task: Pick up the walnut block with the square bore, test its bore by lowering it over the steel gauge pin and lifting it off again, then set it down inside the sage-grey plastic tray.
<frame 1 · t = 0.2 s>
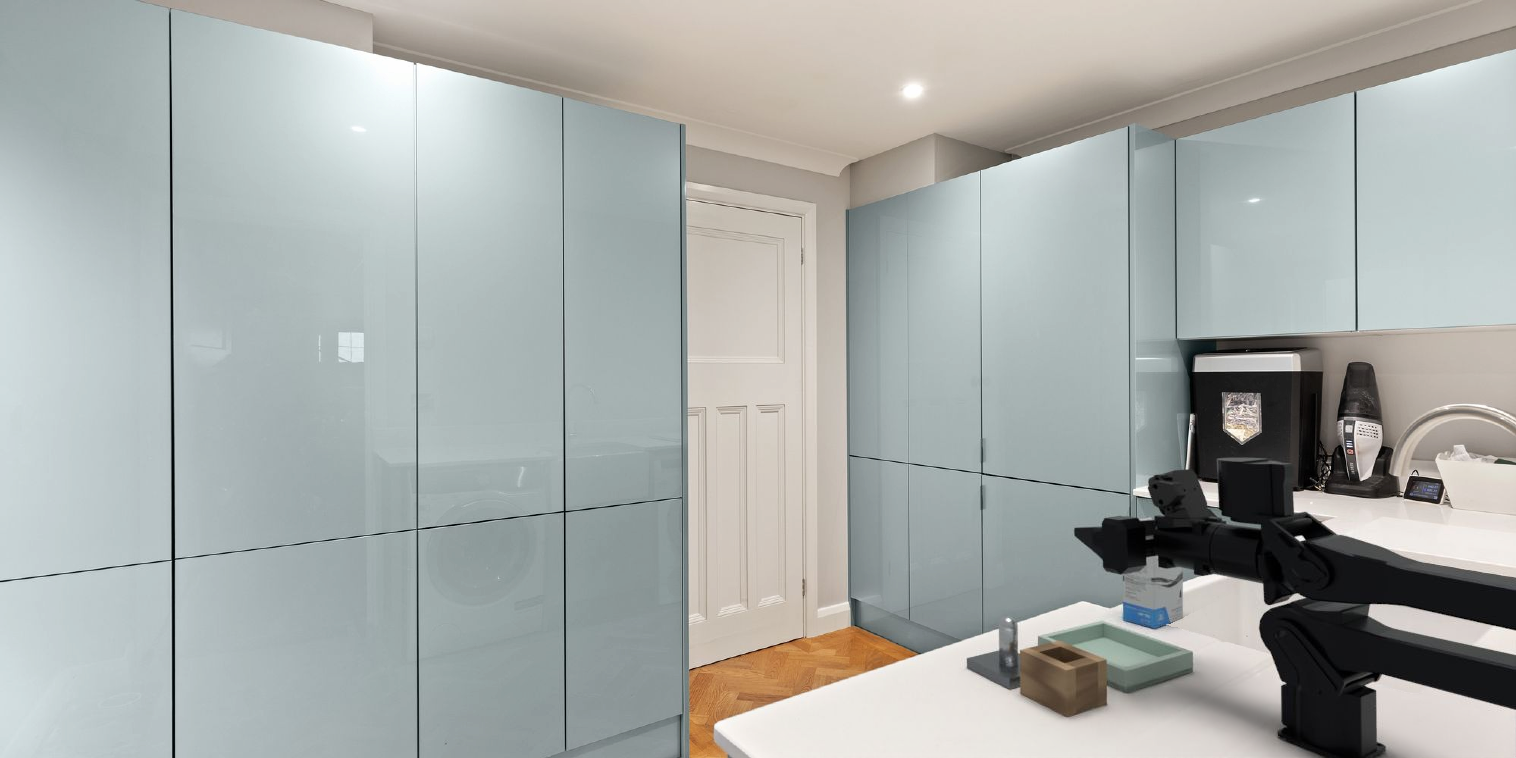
hand: (1098, 528, 91), 17 cm above the counter, tool horizontal, fingers open, 9 cm apart
walnut block: (1062, 698, 79), on the counter
ink box: (1153, 620, 105), on the counter
sage tray: (1113, 663, 89), on the counter
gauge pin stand: (1008, 672, 86), on the counter
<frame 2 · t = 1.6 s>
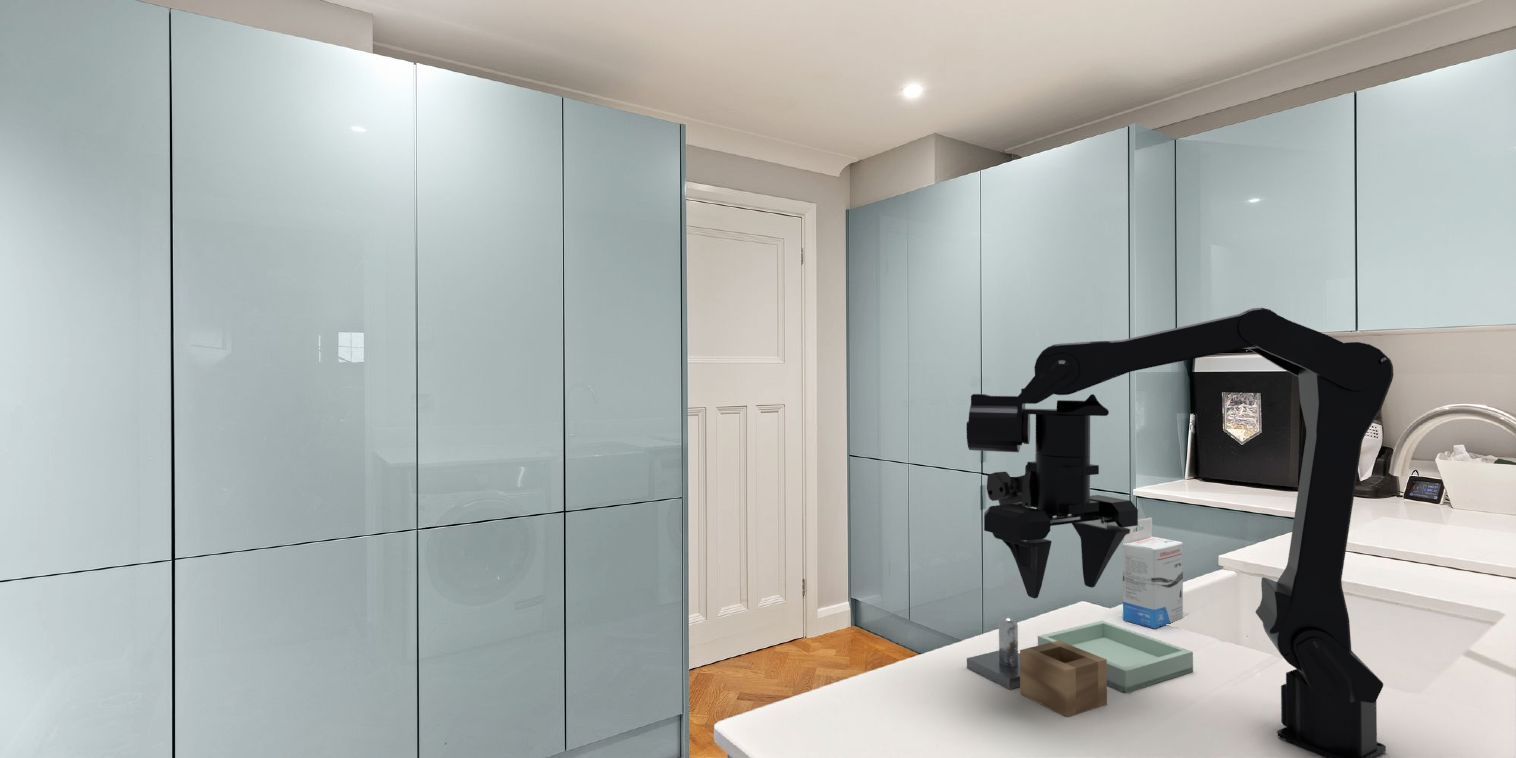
hand: (1061, 591, 79), 12 cm above the counter, tool pointing down, fingers open, 9 cm apart
nothing on the counter moved.
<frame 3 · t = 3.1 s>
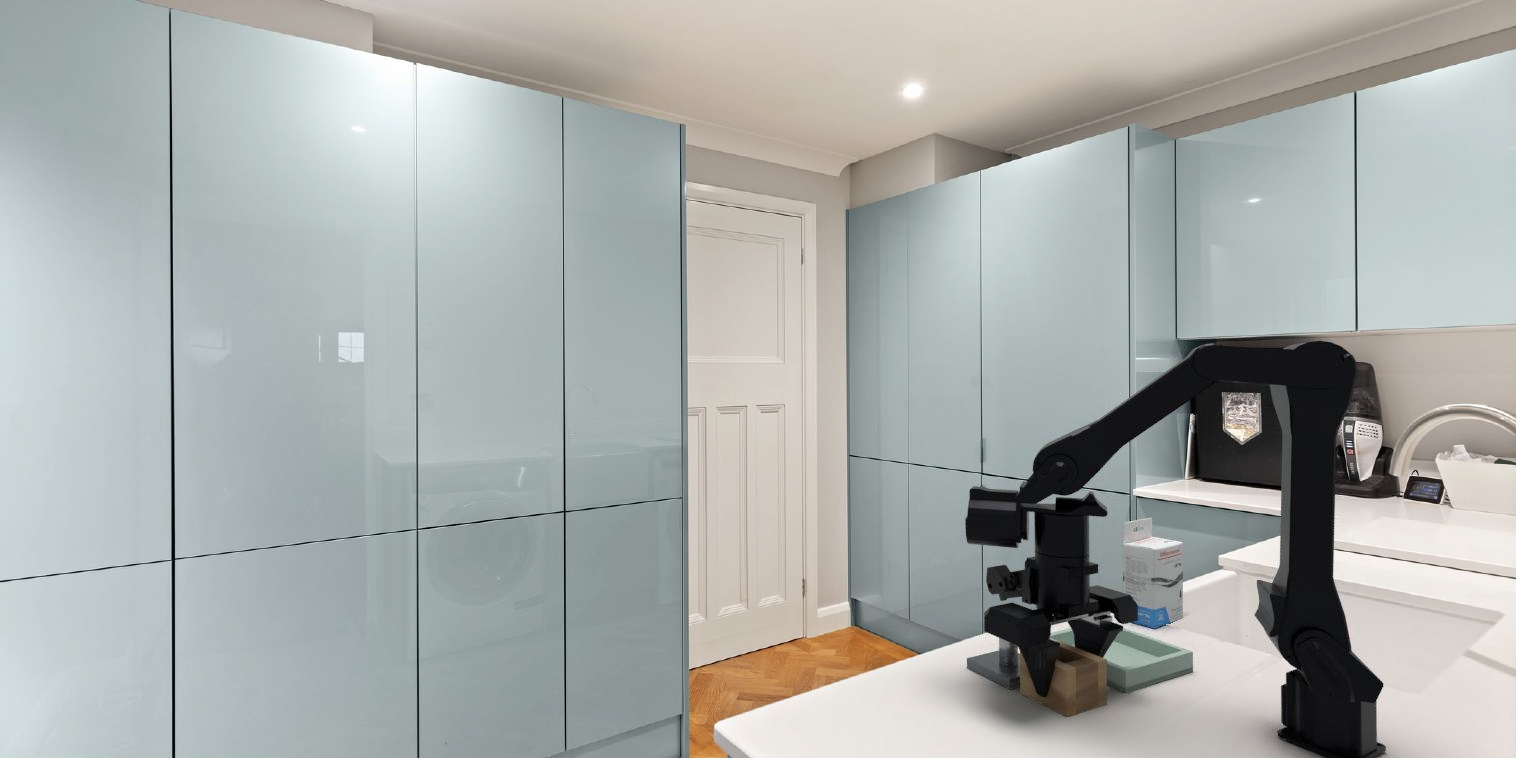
hand: (1062, 689, 79), 1 cm above the counter, tool pointing down, fingers closed on walnut block, 6 cm apart
walnut block: (1062, 698, 79), on the counter, touching gripper
everything else where it was.
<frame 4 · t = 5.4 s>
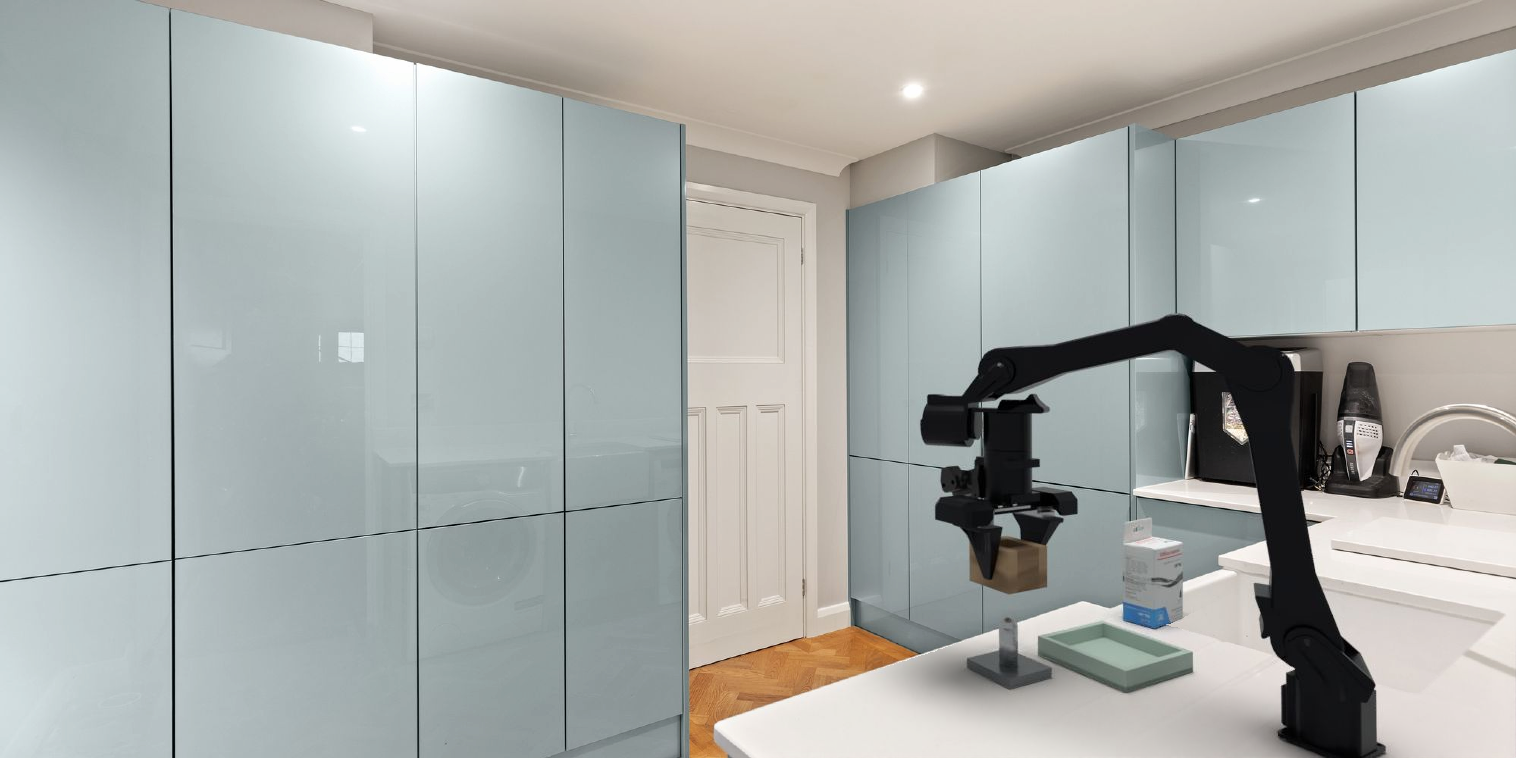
hand: (1007, 575, 86), 12 cm above the counter, tool pointing down, fingers closed on walnut block, 6 cm apart
walnut block: (1007, 583, 86), point 11 cm above the counter, touching gripper
everything else where it was.
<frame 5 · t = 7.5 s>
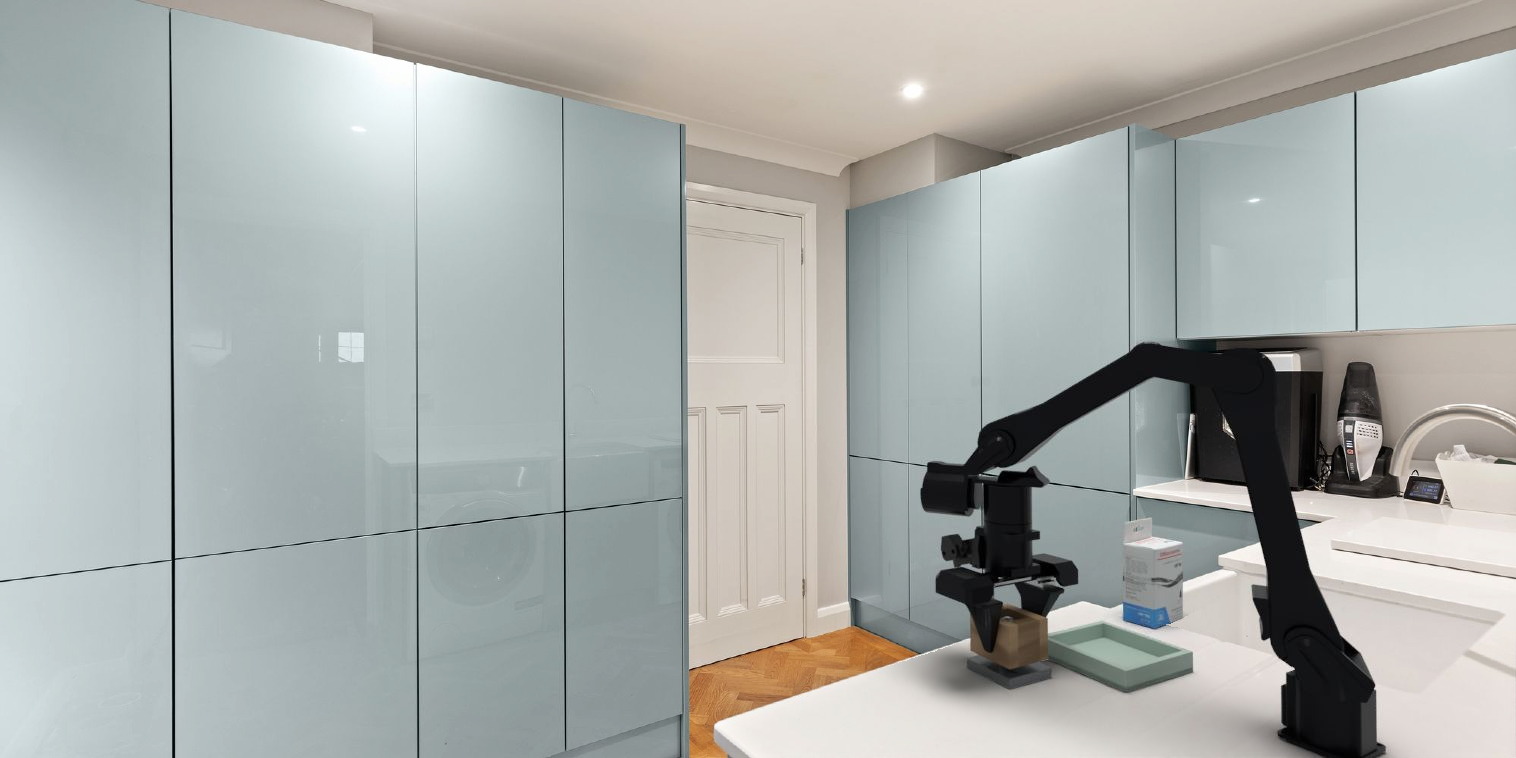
hand: (1008, 646, 86), 3 cm above the counter, tool pointing down, fingers closed on walnut block, 6 cm apart
walnut block: (1008, 655, 86), point 2 cm above the counter, touching gripper
everything else where it was.
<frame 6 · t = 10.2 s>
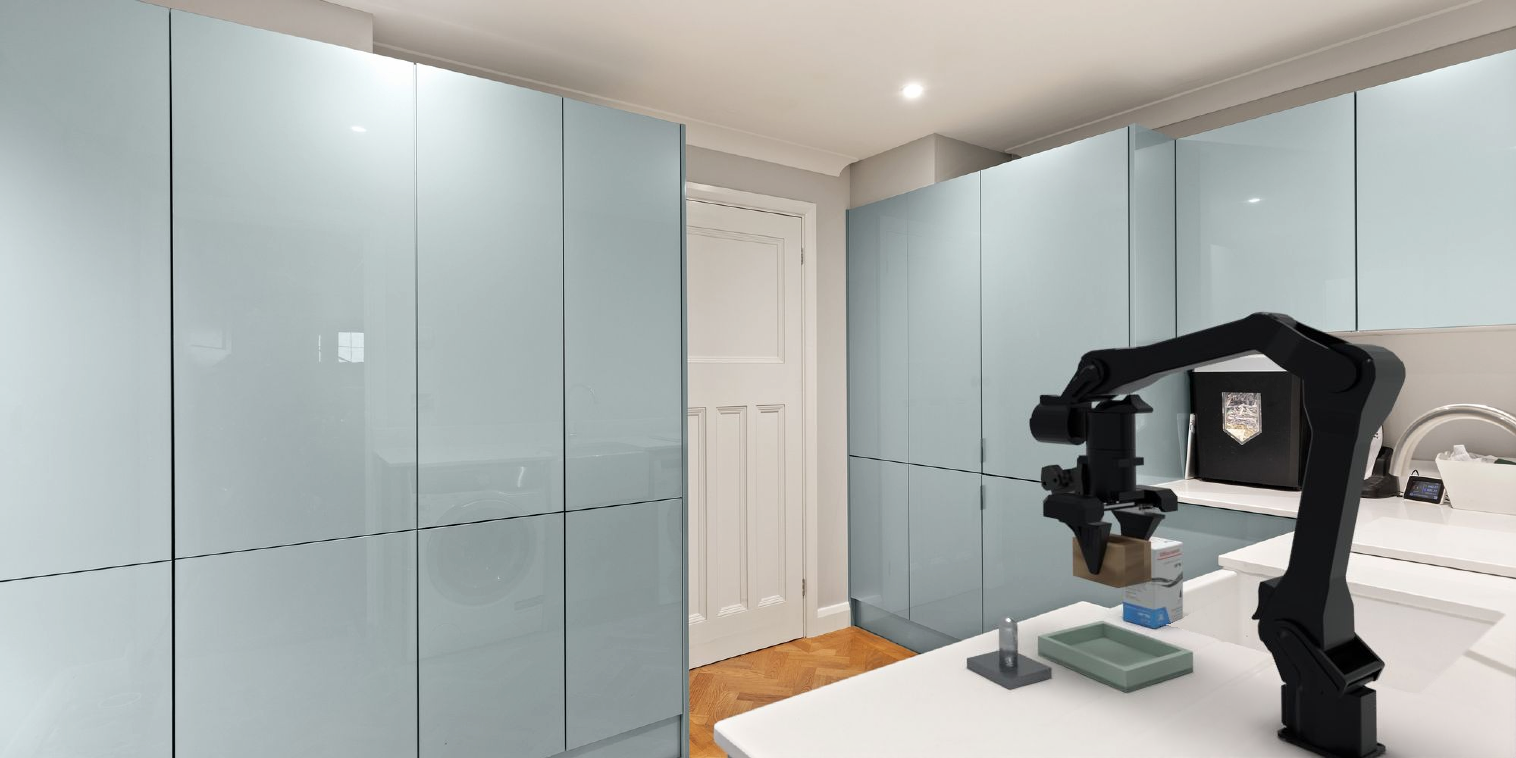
hand: (1112, 570, 89), 12 cm above the counter, tool pointing down, fingers closed on walnut block, 6 cm apart
walnut block: (1111, 578, 89), point 11 cm above the counter, touching gripper
everything else where it was.
when the fingers open (3 cm above the counter, at t = 12.2 s): walnut block drops 1 cm, resting on sage tray.
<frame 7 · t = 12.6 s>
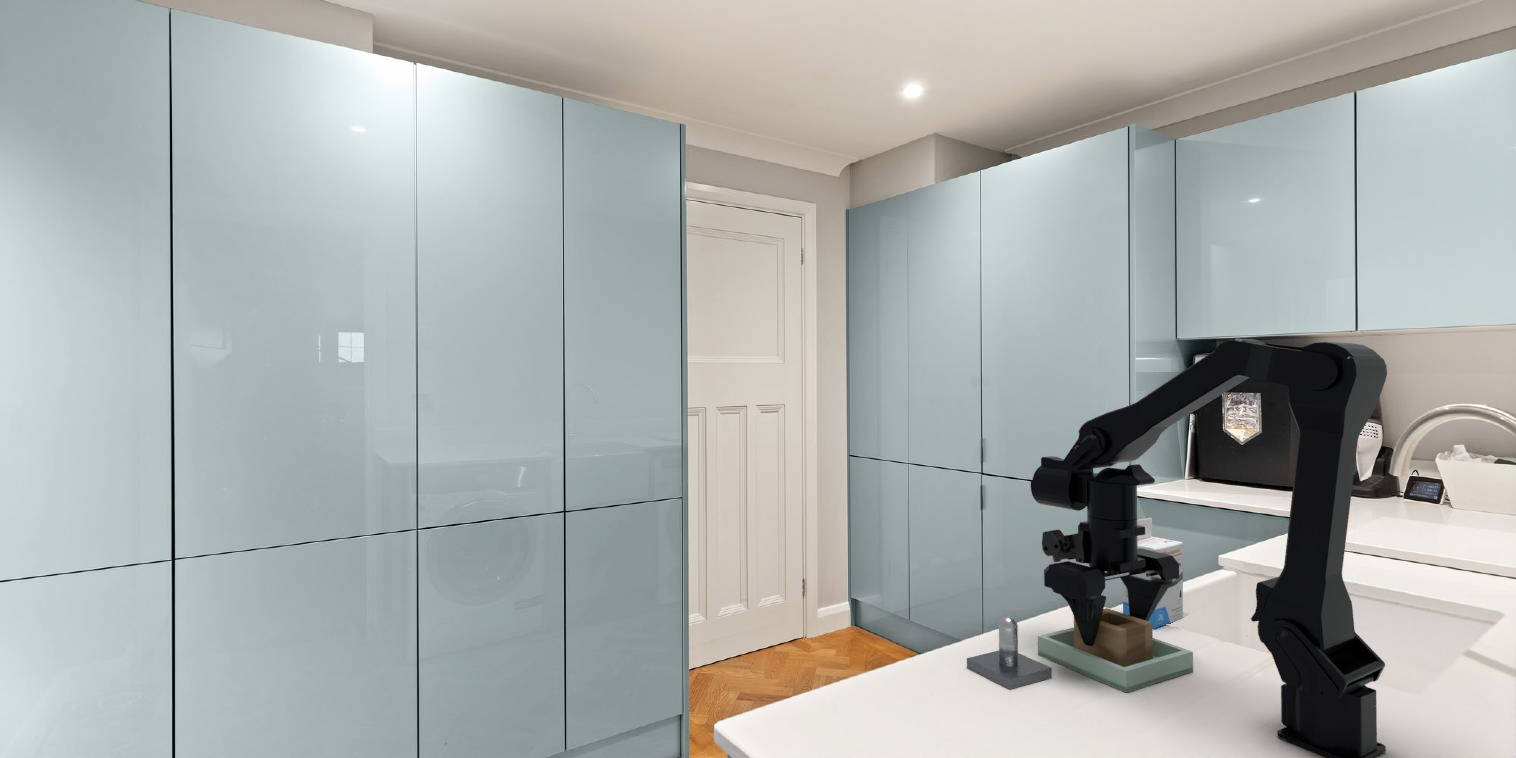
hand: (1113, 638, 89), 3 cm above the counter, tool pointing down, fingers open, 9 cm apart
walnut block: (1112, 658, 89), point 1 cm above the counter, touching sage tray
everything else where it was.
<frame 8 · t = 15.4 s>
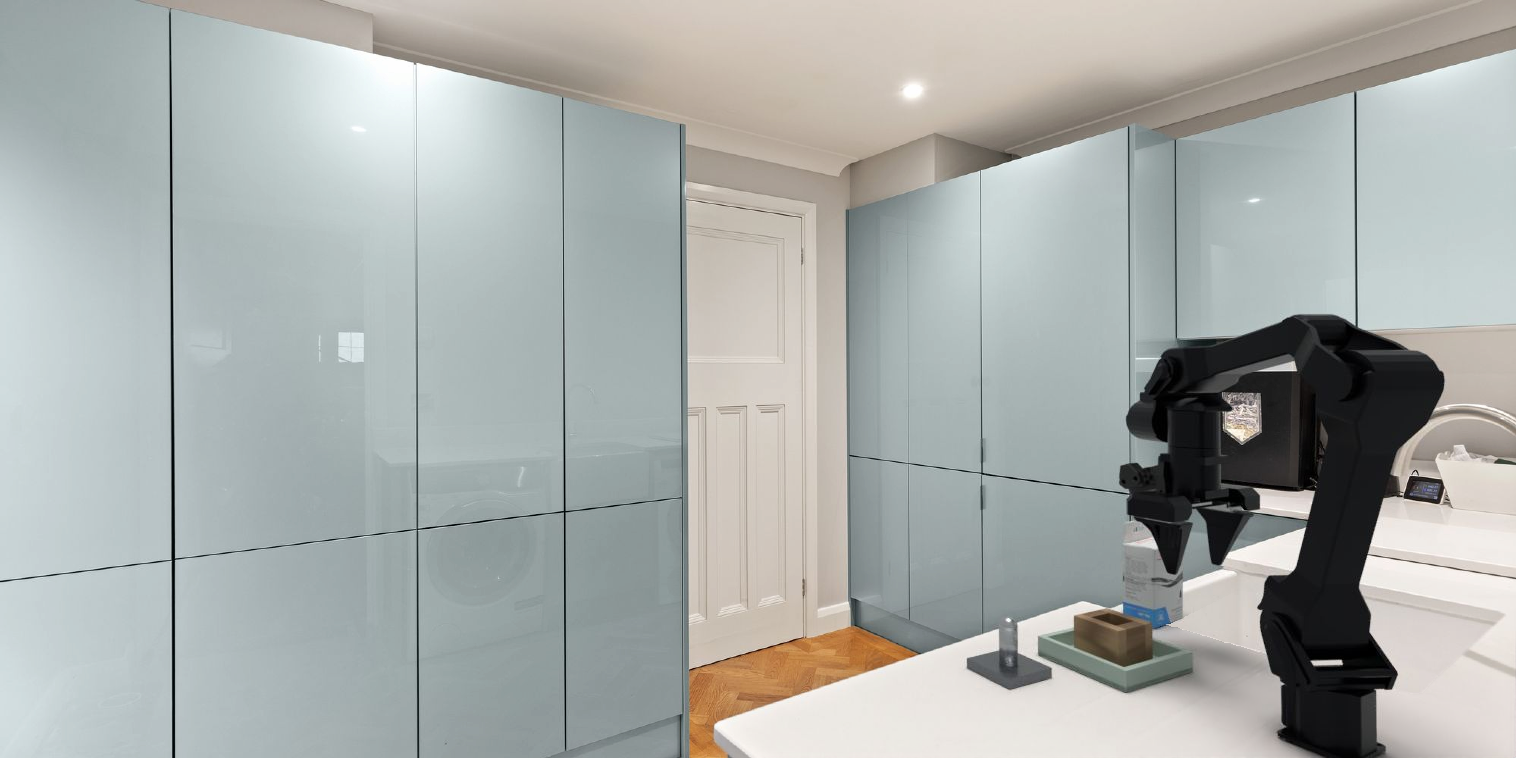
hand: (1194, 569, 88), 12 cm above the counter, tool pointing down, fingers open, 9 cm apart
nothing on the counter moved.
at the end: walnut block 0.0 cm off-centre on the sage tray, point 0.6 cm above the sage tray's base; walnut block tilted 0°; the gripper is holding nothing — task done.
